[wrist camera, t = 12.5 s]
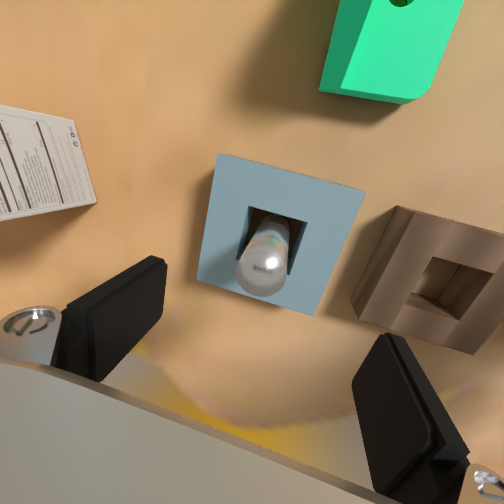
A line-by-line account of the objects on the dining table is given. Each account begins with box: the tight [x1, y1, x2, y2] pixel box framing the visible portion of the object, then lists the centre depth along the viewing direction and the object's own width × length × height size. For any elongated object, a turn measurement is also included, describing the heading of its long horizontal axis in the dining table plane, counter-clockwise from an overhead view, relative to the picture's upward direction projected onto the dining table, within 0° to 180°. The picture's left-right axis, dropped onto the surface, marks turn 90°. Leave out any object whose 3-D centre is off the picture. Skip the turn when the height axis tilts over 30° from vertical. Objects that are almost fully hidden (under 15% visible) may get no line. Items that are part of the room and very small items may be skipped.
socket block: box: [196, 153, 365, 316], centre depth 22 cm, size 12×12×4 cm
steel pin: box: [235, 215, 290, 297], centre depth 20 cm, size 3×3×11 cm
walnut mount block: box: [351, 206, 504, 355], centre depth 22 cm, size 11×11×4 cm
